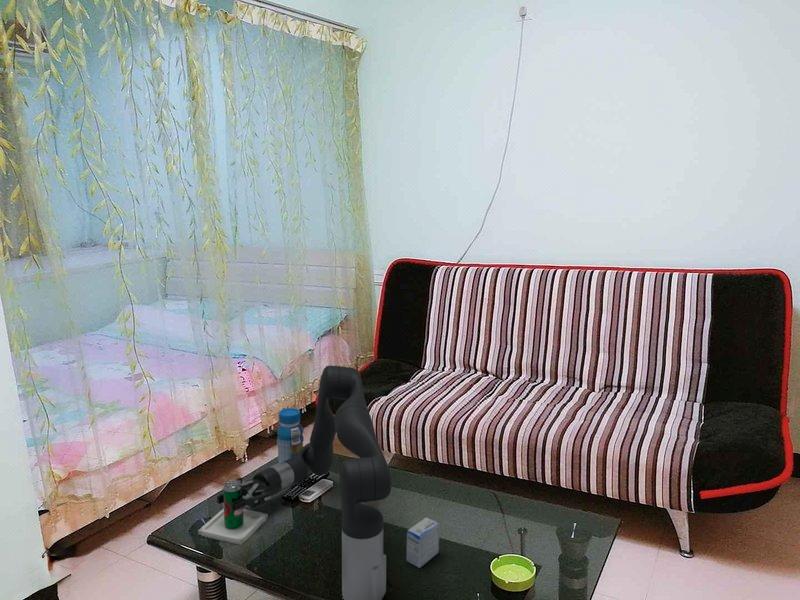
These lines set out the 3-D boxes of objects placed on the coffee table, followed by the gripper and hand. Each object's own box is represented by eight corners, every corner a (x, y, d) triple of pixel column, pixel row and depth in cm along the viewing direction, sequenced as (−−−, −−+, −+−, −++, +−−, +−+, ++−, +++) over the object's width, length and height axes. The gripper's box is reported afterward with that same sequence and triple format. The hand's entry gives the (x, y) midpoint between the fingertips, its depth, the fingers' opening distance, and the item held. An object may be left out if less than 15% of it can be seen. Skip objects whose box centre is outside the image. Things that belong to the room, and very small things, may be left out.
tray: (267, 518, 166) (267, 513, 166) (241, 545, 154) (241, 540, 154) (227, 510, 170) (226, 505, 170) (198, 535, 158) (198, 530, 158)
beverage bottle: (275, 475, 190) (273, 416, 186) (281, 463, 198) (279, 406, 194) (301, 476, 190) (300, 417, 186) (306, 463, 198) (305, 406, 194)
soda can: (238, 531, 159) (236, 489, 157) (221, 528, 160) (218, 487, 158) (247, 520, 164) (245, 480, 162) (229, 518, 165) (227, 478, 163)
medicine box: (425, 546, 154) (425, 516, 153) (439, 553, 152) (440, 522, 150) (405, 561, 148) (406, 530, 147) (420, 569, 146) (420, 536, 144)
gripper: (257, 460, 175) (207, 482, 162) (290, 475, 166) (240, 500, 153) (258, 483, 176) (209, 507, 163) (291, 499, 168) (242, 526, 155)
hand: (224, 504), depth 158 cm, fingers open, 5 cm apart
